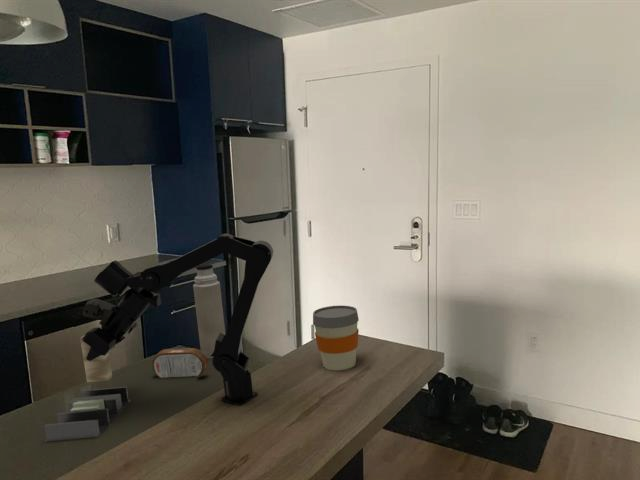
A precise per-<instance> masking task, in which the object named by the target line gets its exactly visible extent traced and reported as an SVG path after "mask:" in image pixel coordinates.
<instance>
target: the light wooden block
mask: <svg viewBox="0 0 640 480" xmlns="http://www.w3.org/2000/svg"><path fill="white" fill-rule="evenodd" d="M84 336H85V334H84V335H82V336H80V339H79V340H80V345H81V352H82V359H83V365H84V371H85V377H86V383H96V382H103V381H104V382H105V381H108V382H109V380H110V379H111V378H112V377H113V374H112V373H113V372H112V367H111V361H110V360H111V359H110V351H109V352H108V353H107V354H106V355H105V356H104V355H101V356H99V357H97V358H95V359H93V360H91V361H88V360H87V359H86V357H87V355H88V353H89V350H90V348H91V347H90V346H89V345H88V344H86V343H85V342H84V341H83V340H82V338H83V337H84Z"/></svg>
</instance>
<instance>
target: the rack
mask: <svg viewBox="0 0 640 480" xmlns="http://www.w3.org/2000/svg"><path fill="white" fill-rule="evenodd" d="M129 398H130V397H129V392H128V386H119V387H117V386H116V387H107V388H105V387H104V388H95V389H85V390H83V389H82V390H81V397H74V398H72V400H70V401H69V402H68V403H67V407H68V411H66V412H58V413H57V414H56V419H57V423H46V424H44V425H43V426H44V432H45V439H46V440H44V442H45V443H46V442H58V441H68V440H78V439H90V438H91V439H92V438H100V437H101V438H102V437H103V435H104V434H105V433H106V431H107V430H108V429H109V427H110V426H111V425H112V424H113V423H114V422H115V420H116V419H117V418H118V416H119V415H120V414H121V413H122V412H123V411H124V409H125V408H126V407H127V405H128V404H129V403H130V402H131V399H129ZM100 399H104V406H105V409H96V410H85V411H74V412H71V411H70V410H71V409H72V408H73V405H72V404H74V403H75V402H78V401H89V400H100Z"/></svg>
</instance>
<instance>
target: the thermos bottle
mask: <svg viewBox="0 0 640 480" xmlns="http://www.w3.org/2000/svg"><path fill="white" fill-rule="evenodd" d="M195 268H196V276H195V277H194V283H193V285H192V288H193V296H194V305H195V314H196V321H197V322H196V323H197V329H198V339H199V346H200V351H201V352H203V353H204V355H205V356H206V358H207V359H213V357H214V356H213V357H211V354H212V352H213V350H214V349H215V342H216V339H217V338H218V336H219V334H220V333H222V334H224V335H225V334H226V327H225V325H226V324H225V318H224V310H223V309H224V308H223V300H222V291H221V283H220V280H218V276H217V274H215V273H214V269H213V268H214V267H213V264H210V263H209V264H200V265H198V266H196V267H195Z"/></svg>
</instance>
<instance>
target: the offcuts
mask: <svg viewBox="0 0 640 480" xmlns="http://www.w3.org/2000/svg"><path fill="white" fill-rule="evenodd" d="M72 405H73V408H72V409H71V410H70V411H71V412H74V411H85V410H96V409H105V406H104V399H100V400H89V401H78V402H75V403H74V404H72Z"/></svg>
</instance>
